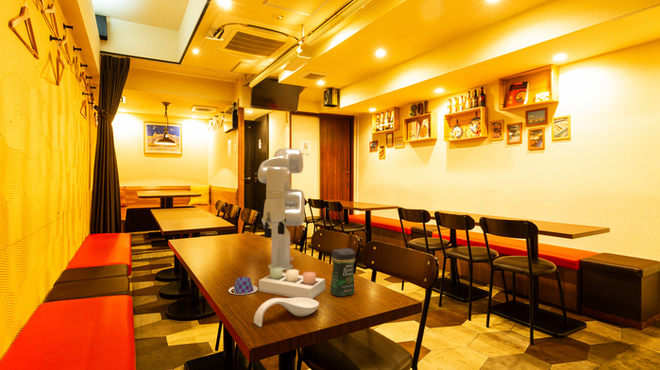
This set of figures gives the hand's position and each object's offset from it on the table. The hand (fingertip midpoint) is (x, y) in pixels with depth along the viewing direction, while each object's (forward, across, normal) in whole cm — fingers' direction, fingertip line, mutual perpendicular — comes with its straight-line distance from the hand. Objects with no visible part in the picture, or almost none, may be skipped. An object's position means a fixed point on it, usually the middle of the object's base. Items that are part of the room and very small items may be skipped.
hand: (274, 235), depth 144 cm
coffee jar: (+23, -8, +29) cm, 37 cm away
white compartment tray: (+22, -1, +9) cm, 24 cm away
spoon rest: (+23, +22, +21) cm, 38 cm away
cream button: (+19, -1, +9) cm, 21 cm away
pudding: (+23, +9, -9) cm, 26 cm away
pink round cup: (+19, -1, +17) cm, 25 cm away
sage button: (+19, -1, +1) cm, 19 cm away
